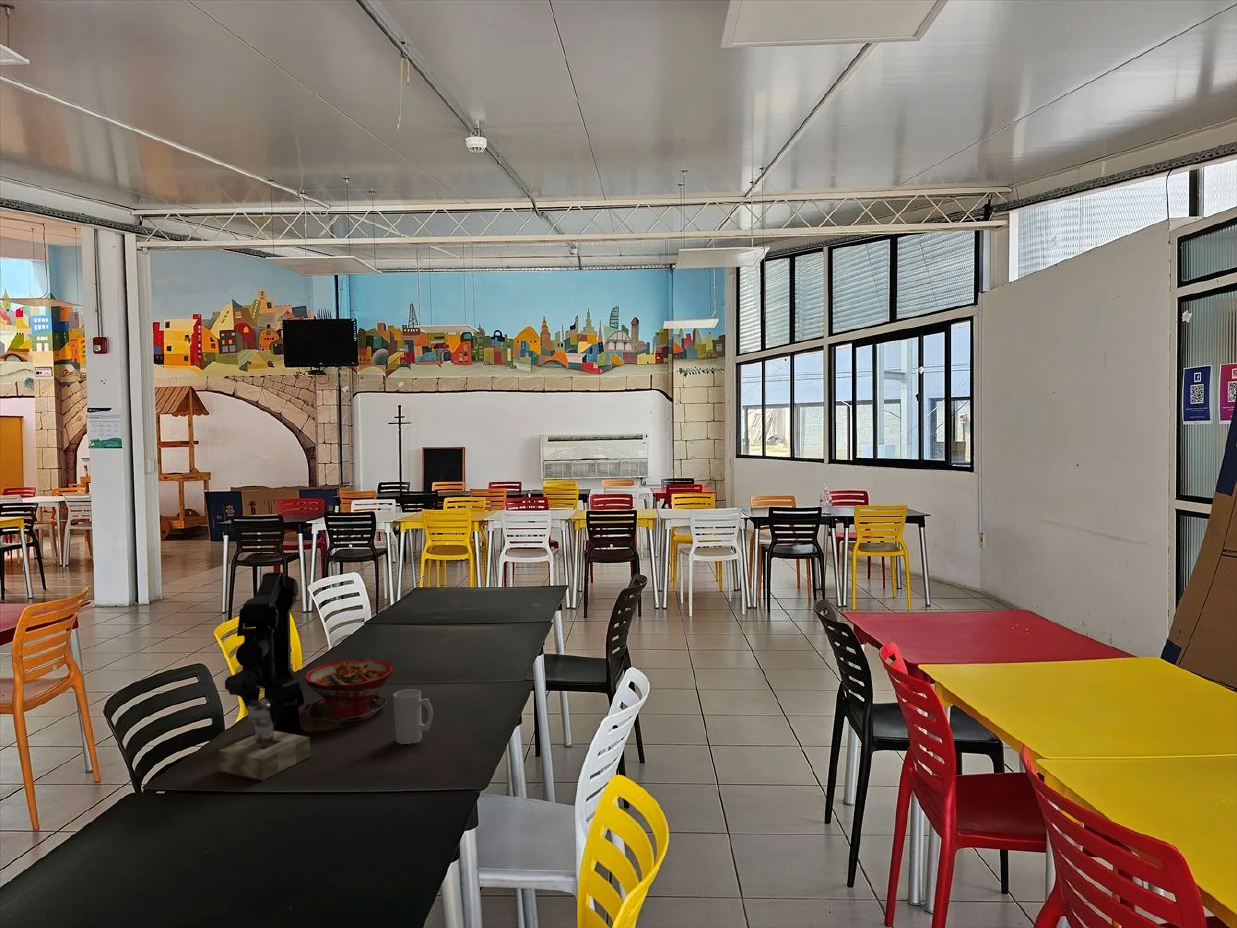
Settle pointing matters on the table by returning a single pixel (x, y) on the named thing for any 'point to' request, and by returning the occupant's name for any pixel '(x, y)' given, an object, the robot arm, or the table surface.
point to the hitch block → (264, 755)
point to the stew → (344, 693)
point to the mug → (410, 716)
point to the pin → (261, 721)
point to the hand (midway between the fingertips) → (263, 720)
